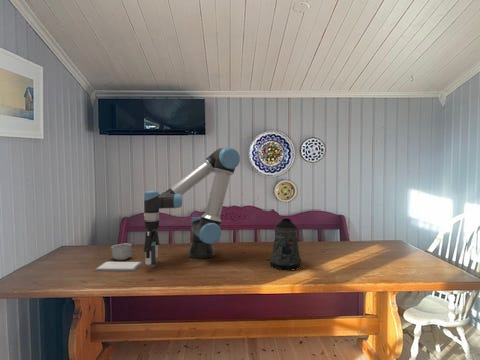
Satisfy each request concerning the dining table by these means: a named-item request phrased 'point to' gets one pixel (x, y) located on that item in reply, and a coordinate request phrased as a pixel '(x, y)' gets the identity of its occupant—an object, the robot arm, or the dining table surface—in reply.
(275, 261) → the beer stein
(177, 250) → the dining table surface
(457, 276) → the dining table surface
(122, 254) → the teacup
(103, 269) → the small whiteboard
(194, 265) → the dining table surface
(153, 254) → the marker
